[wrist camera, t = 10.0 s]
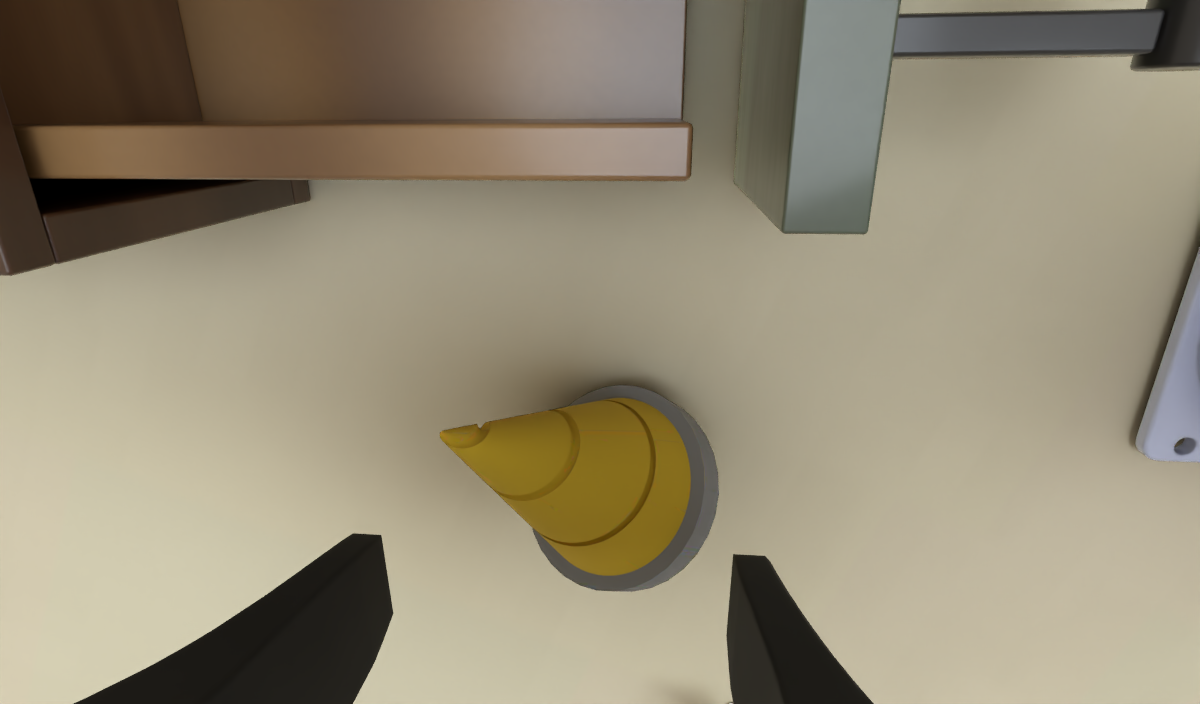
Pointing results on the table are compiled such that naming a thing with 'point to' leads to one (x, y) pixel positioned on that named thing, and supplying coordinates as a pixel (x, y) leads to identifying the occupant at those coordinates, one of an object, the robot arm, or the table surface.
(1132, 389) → the table surface
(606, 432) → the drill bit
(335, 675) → the robot arm
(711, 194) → the table surface
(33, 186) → the cabinet
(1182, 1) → the drawer
